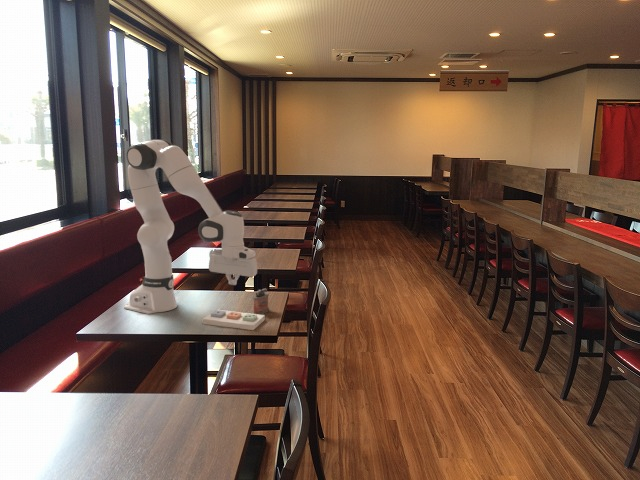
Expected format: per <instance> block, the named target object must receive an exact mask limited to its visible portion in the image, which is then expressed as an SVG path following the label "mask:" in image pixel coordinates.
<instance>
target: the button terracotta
mask: <svg viewBox="0 0 640 480" xmlns="http://www.w3.org/2000/svg"><path fill="white" fill-rule="evenodd" d="M236 312H237V311H234V312H231V313H229V314H228V315H227V319H234V320H237V319H239V318H240V317H241V313H236Z"/></svg>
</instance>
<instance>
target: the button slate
mask: <svg viewBox="0 0 640 480" xmlns="http://www.w3.org/2000/svg"><path fill="white" fill-rule="evenodd" d="M219 310H220V309H217V310H216V309H214V310H213V311H214V312H213V311H212V312H210V313H211V317H218V318H222V317H223V316H224V315H226V311H227V310H225V311H219Z"/></svg>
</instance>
